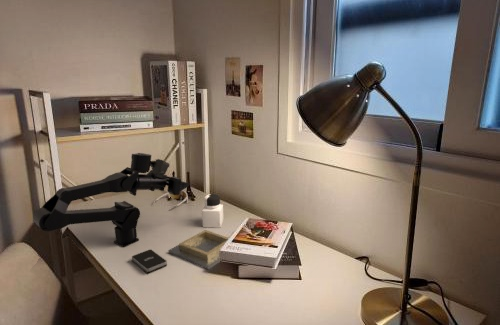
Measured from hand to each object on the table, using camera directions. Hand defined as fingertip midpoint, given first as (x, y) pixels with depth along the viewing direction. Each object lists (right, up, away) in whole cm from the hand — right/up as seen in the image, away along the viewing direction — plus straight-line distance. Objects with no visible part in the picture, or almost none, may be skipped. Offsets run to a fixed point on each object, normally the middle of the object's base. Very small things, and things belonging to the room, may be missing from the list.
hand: (182, 182), depth 140 cm
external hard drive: (-5, -25, -28) cm, 38 cm away
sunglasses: (-9, -12, +23) cm, 27 cm away
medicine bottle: (+12, -17, 0) cm, 21 cm away
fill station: (+12, -22, -20) cm, 32 cm away
